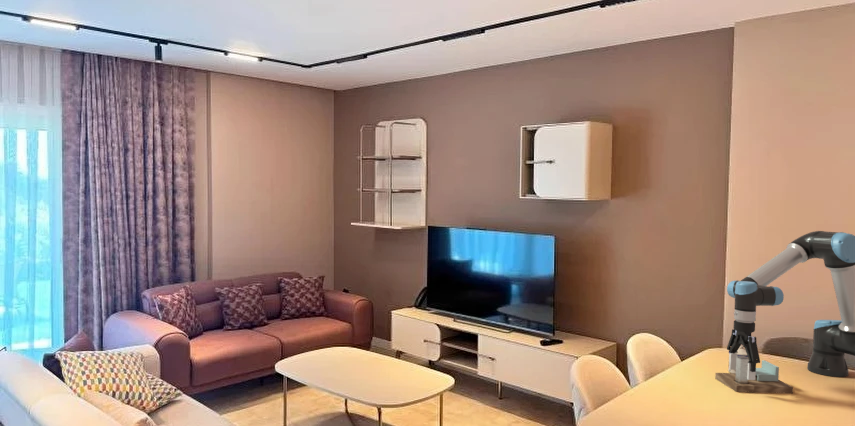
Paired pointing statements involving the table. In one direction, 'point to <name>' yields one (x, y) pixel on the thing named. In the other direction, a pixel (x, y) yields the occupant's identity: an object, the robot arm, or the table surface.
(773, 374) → the cover
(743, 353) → the teacup with lid
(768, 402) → the table surface
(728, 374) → the base
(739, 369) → the pin
